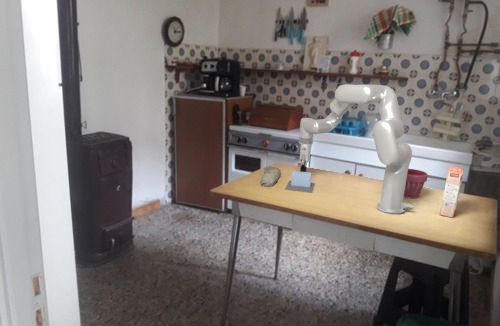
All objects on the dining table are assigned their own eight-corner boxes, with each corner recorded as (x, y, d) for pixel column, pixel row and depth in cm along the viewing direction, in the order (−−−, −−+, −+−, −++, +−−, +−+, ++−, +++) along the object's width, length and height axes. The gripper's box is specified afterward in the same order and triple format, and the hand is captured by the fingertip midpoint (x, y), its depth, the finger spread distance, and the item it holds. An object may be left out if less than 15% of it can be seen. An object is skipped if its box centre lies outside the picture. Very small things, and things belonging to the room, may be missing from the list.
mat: (314, 184, 212) (314, 183, 212) (312, 192, 197) (312, 192, 197) (289, 181, 215) (289, 180, 215) (284, 189, 200) (285, 188, 200)
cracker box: (454, 218, 171) (462, 173, 166) (439, 215, 174) (447, 170, 169) (456, 210, 183) (464, 167, 178) (442, 207, 186) (450, 165, 181)
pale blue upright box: (310, 185, 209) (311, 172, 207) (309, 187, 205) (311, 174, 203) (292, 183, 211) (293, 170, 209) (291, 185, 207) (292, 172, 205)
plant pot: (400, 199, 194) (404, 174, 191) (390, 190, 208) (393, 167, 205) (428, 200, 195) (433, 176, 192) (416, 192, 208) (420, 169, 205)
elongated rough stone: (256, 188, 204) (275, 191, 202) (257, 179, 202) (276, 182, 201) (266, 169, 237) (282, 172, 235) (267, 161, 235) (283, 163, 234)
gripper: (311, 143, 202) (308, 177, 206) (313, 139, 216) (311, 171, 220) (297, 142, 203) (294, 176, 208) (300, 138, 218) (297, 169, 222)
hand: (303, 173), depth 214 cm, fingers closed
